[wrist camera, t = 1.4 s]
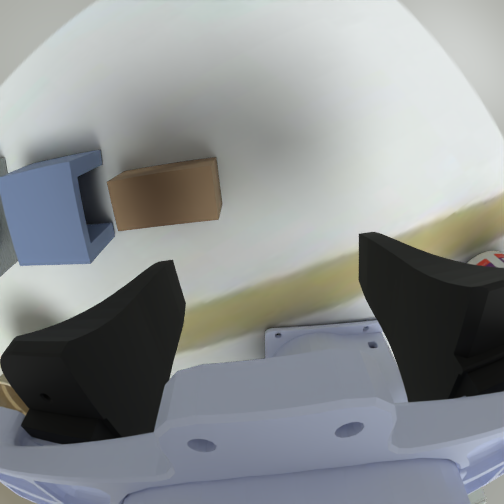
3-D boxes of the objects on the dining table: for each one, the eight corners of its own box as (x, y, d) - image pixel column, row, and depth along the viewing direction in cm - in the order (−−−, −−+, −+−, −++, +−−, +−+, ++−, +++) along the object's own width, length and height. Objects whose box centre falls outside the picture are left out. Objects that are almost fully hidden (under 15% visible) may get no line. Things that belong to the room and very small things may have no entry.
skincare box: (472, 456, 42) (489, 500, 31) (462, 466, 44) (478, 508, 33) (449, 465, 42) (466, 512, 31) (440, 474, 44) (455, 519, 33)
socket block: (100, 149, 18) (69, 161, 14) (114, 236, 20) (90, 263, 17) (31, 163, 18) (-3, 178, 14) (48, 240, 20) (19, 265, 17)
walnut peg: (216, 156, 19) (211, 165, 16) (222, 203, 20) (218, 219, 17) (125, 170, 19) (106, 182, 16) (134, 214, 20) (118, 231, 17)
